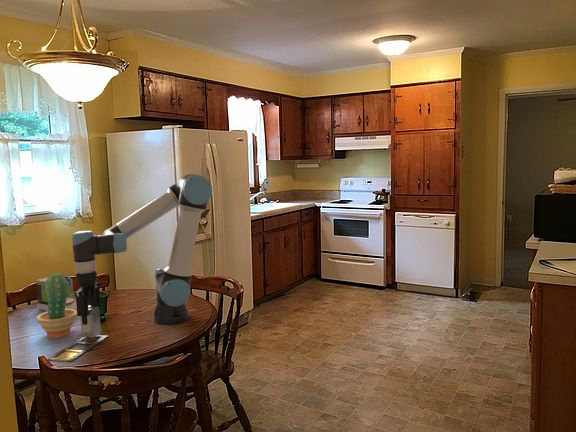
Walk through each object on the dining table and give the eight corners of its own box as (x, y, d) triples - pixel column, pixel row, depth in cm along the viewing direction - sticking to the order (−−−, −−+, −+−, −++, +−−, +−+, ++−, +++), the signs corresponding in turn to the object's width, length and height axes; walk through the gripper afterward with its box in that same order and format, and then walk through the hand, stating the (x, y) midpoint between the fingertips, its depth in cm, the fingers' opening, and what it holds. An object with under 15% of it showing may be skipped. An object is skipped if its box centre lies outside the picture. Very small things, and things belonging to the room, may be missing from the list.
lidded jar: (65, 322, 213) (63, 301, 212) (44, 321, 215) (42, 300, 214) (80, 314, 223) (79, 294, 222) (59, 313, 225) (58, 293, 224)
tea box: (75, 308, 232) (73, 278, 230) (55, 314, 224) (53, 283, 222) (57, 304, 240) (54, 275, 238) (37, 309, 232) (34, 279, 230)
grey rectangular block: (101, 332, 193) (98, 305, 191) (94, 337, 188) (91, 309, 186) (89, 332, 194) (87, 305, 192) (82, 336, 189) (79, 309, 187)
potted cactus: (82, 334, 197) (77, 274, 194) (40, 343, 189) (34, 280, 186) (75, 324, 210) (71, 267, 207) (35, 331, 202) (30, 273, 199)
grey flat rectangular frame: (108, 336, 194) (108, 335, 194) (71, 361, 171) (71, 360, 171) (86, 335, 196) (86, 334, 196) (47, 360, 173) (47, 359, 173)
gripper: (90, 265, 197) (95, 320, 200) (62, 277, 179) (68, 337, 182) (107, 265, 196) (112, 321, 199) (80, 277, 178) (86, 338, 181)
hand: (91, 329), depth 190 cm, fingers closed on grey rectangular block, 5 cm apart
